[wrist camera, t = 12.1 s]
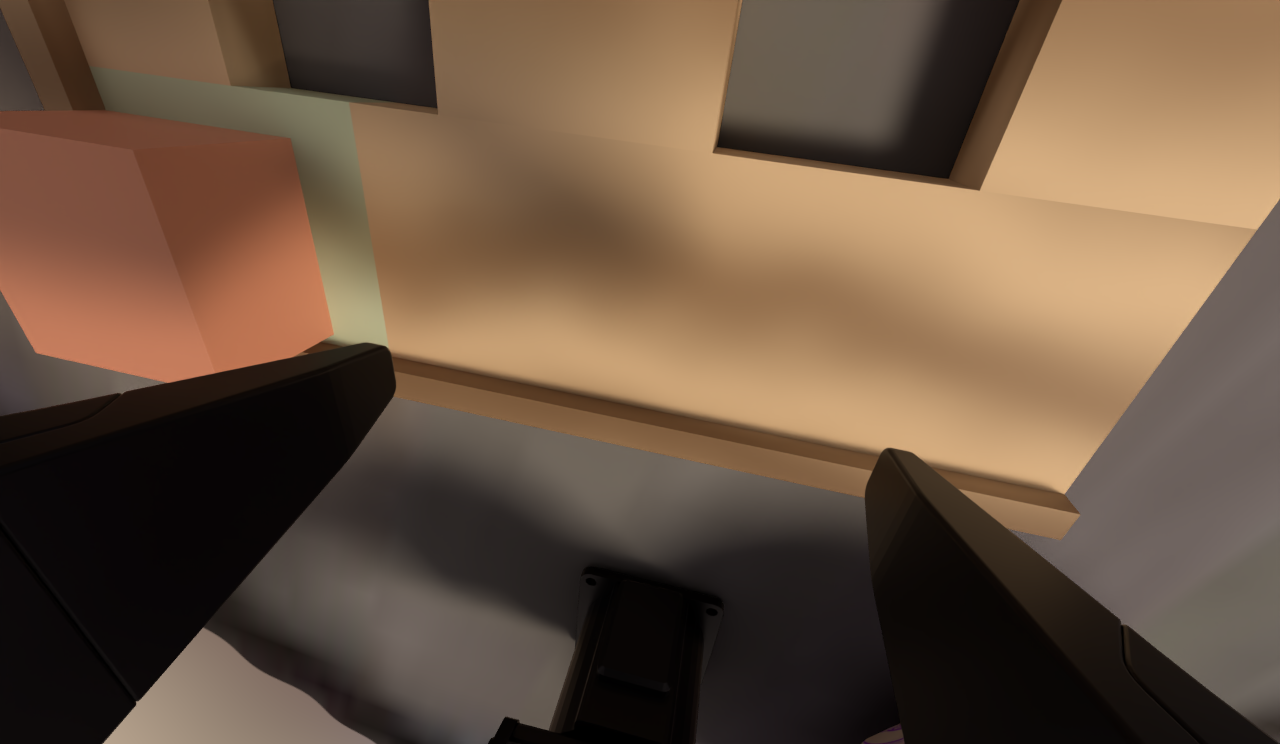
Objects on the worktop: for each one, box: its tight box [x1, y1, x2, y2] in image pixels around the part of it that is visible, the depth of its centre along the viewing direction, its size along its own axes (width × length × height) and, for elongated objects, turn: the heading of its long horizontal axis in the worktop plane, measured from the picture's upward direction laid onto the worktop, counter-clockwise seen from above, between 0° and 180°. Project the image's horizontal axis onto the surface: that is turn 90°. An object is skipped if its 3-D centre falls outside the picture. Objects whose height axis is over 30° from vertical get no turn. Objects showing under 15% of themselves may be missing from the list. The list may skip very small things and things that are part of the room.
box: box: [0, 0, 1280, 540], centre depth 13 cm, size 16×30×3 cm, turn 83°
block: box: [0, 110, 334, 383], centre depth 14 cm, size 6×6×4 cm
